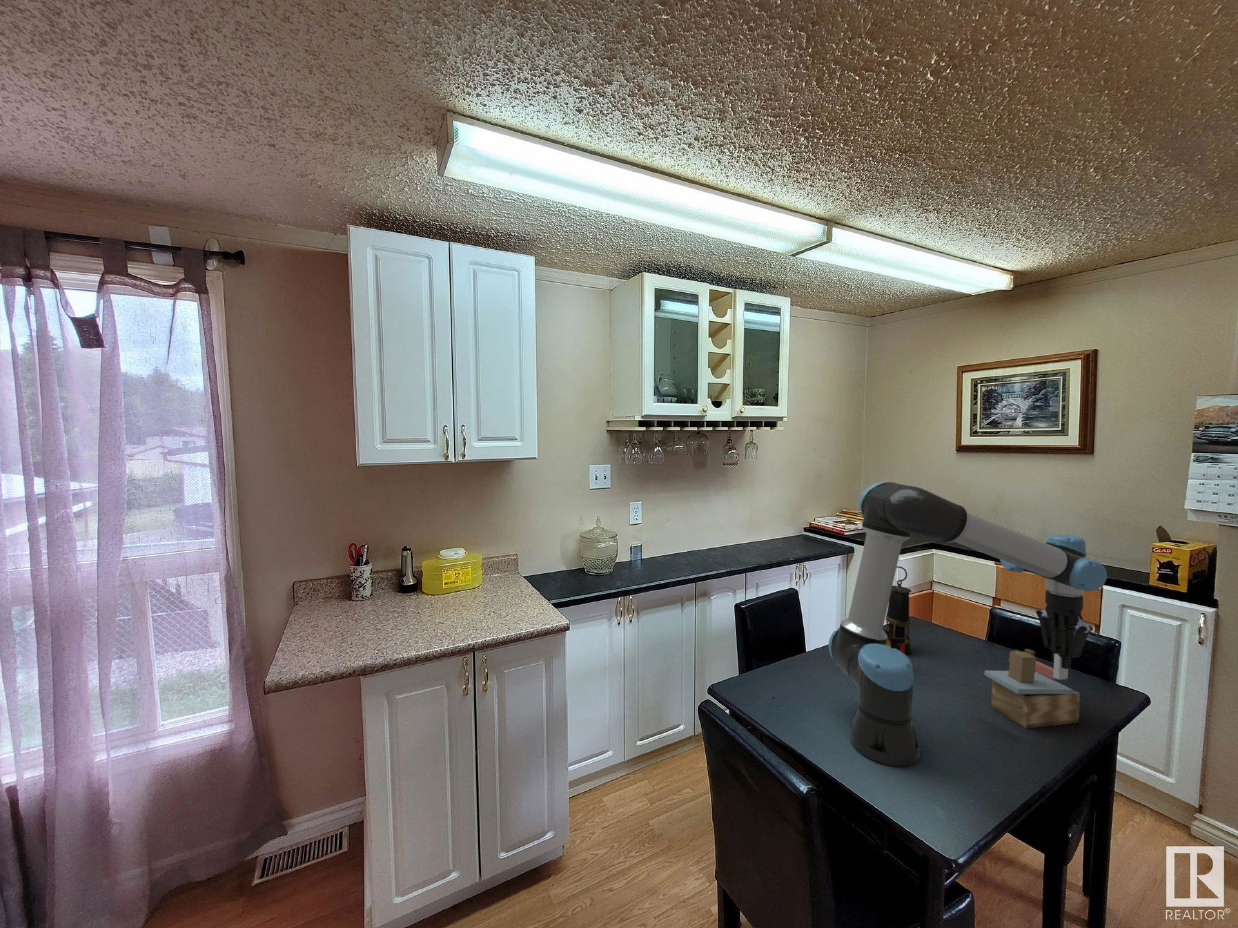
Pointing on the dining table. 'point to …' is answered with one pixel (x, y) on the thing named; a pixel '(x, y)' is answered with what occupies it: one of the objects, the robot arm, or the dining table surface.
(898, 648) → the lantern
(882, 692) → the robot arm
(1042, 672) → the bar
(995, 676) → the lid
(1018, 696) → the open wooden box
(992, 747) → the dining table surface
